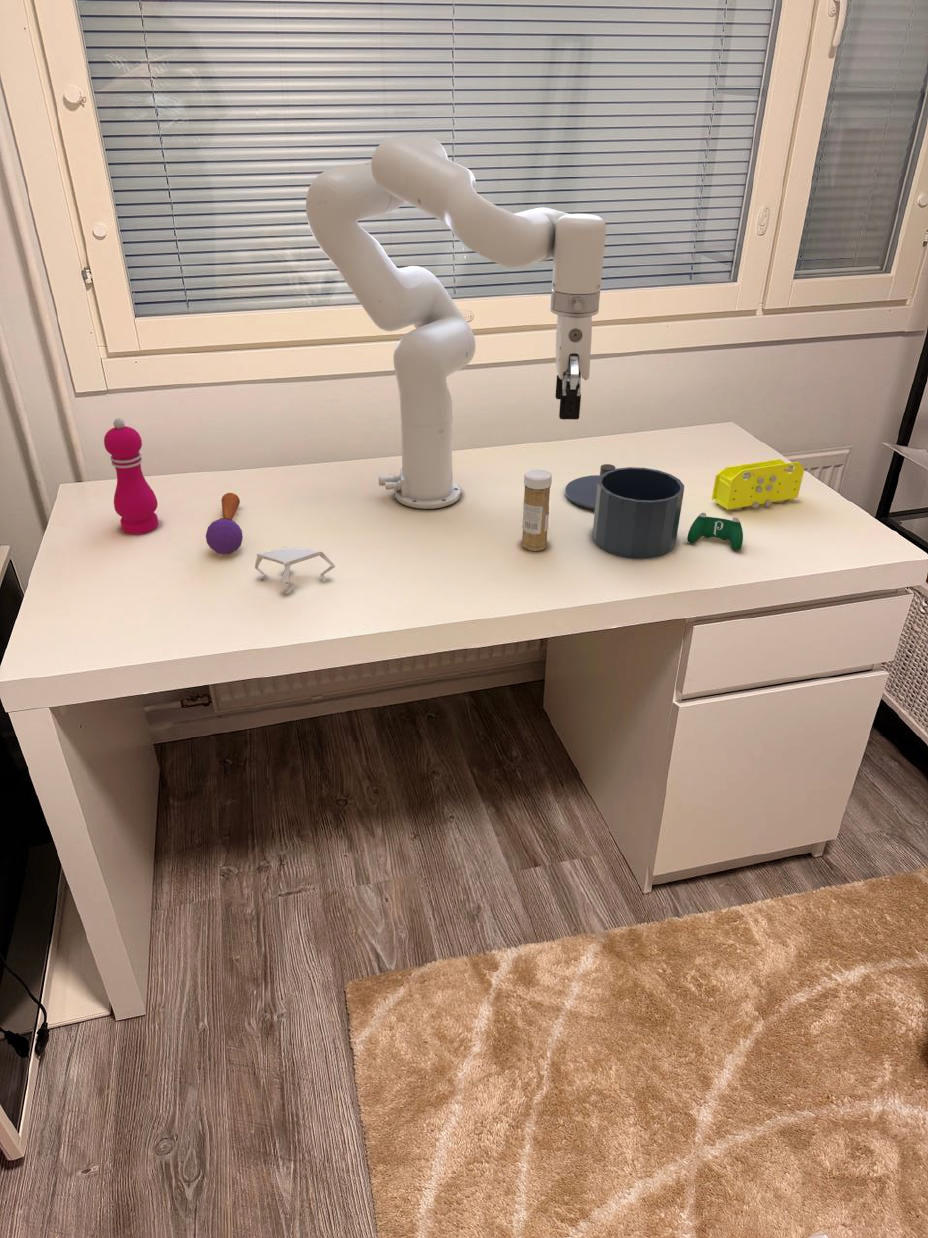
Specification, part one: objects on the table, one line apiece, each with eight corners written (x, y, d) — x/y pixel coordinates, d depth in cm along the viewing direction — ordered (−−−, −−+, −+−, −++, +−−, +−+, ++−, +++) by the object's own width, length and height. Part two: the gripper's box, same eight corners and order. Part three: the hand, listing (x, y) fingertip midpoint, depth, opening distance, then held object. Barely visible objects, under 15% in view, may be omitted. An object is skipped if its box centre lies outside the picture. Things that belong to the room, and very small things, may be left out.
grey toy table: (264, 600, 136) (261, 573, 134) (255, 575, 143) (251, 548, 140) (340, 587, 140) (338, 559, 137) (327, 563, 147) (325, 536, 144)
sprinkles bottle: (552, 545, 153) (557, 473, 145) (534, 554, 150) (539, 481, 143) (533, 537, 155) (537, 465, 148) (515, 545, 153) (518, 472, 145)
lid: (573, 515, 163) (576, 484, 160) (558, 481, 176) (560, 452, 173) (655, 512, 164) (659, 482, 161) (633, 479, 177) (637, 450, 174)
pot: (603, 560, 148) (609, 503, 143) (584, 522, 161) (589, 468, 155) (686, 557, 150) (695, 500, 144) (661, 519, 162) (669, 465, 156)
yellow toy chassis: (727, 514, 164) (735, 472, 159) (710, 502, 168) (717, 461, 164) (798, 502, 168) (808, 461, 164) (779, 490, 173) (788, 450, 168)
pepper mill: (170, 522, 159) (150, 415, 148) (142, 539, 153) (119, 428, 143) (139, 514, 161) (117, 408, 151) (110, 530, 156) (85, 421, 145)
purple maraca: (248, 487, 162) (242, 528, 145) (246, 517, 165) (240, 561, 147) (214, 483, 161) (205, 524, 143) (213, 514, 163) (203, 558, 146)
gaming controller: (739, 556, 154) (745, 524, 155) (741, 549, 150) (747, 516, 151) (686, 547, 156) (692, 516, 157) (686, 540, 153) (693, 508, 154)
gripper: (605, 315, 130) (594, 427, 139) (593, 289, 144) (584, 392, 153) (554, 315, 130) (546, 426, 139) (547, 288, 144) (541, 391, 154)
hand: (566, 408), depth 146 cm, fingers open, 9 cm apart
